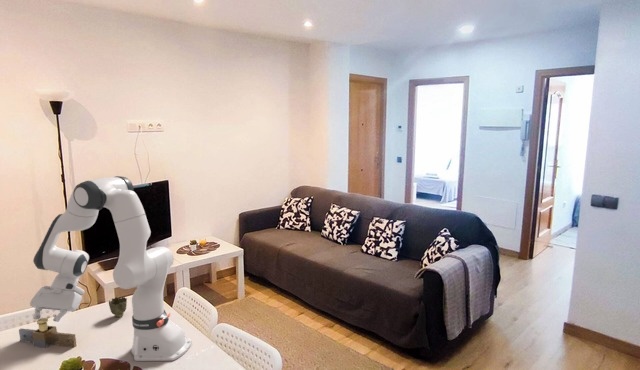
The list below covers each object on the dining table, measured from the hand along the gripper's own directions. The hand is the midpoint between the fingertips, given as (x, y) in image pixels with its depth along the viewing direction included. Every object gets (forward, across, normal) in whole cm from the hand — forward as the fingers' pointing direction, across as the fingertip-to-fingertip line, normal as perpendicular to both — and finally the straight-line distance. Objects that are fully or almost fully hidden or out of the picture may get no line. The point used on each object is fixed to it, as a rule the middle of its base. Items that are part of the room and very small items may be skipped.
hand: (45, 320), depth 155 cm
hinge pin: (+7, 0, +6) cm, 9 cm away
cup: (-10, +14, +24) cm, 29 cm away
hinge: (+7, 0, +6) cm, 9 cm away
